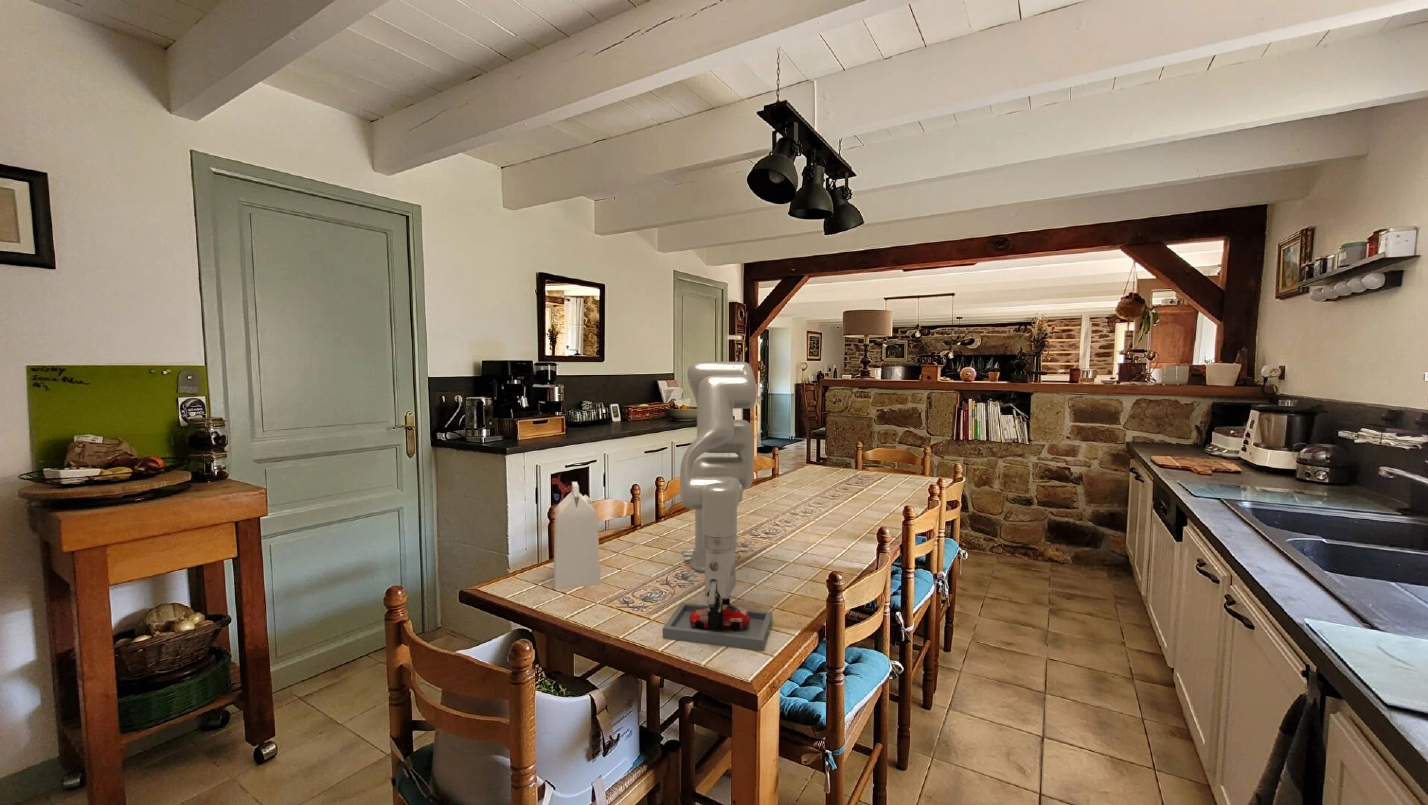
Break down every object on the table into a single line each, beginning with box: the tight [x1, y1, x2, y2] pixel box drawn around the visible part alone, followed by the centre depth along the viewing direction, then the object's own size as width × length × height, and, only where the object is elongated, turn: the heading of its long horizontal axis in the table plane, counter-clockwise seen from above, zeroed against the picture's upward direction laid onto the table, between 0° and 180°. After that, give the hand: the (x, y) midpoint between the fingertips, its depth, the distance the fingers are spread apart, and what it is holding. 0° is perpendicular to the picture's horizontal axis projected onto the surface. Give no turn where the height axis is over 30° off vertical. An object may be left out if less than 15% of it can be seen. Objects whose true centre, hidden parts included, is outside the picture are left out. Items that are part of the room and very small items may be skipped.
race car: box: [689, 604, 750, 630], centre depth 121 cm, size 13×5×4 cm, turn 85°
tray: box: [662, 601, 773, 652], centre depth 121 cm, size 21×13×2 cm, turn 76°
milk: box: [553, 481, 601, 591], centre depth 149 cm, size 12×12×26 cm
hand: (719, 621), depth 121 cm, fingers closed on race car, 5 cm apart
